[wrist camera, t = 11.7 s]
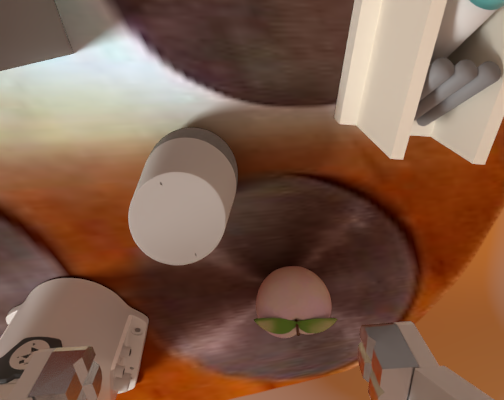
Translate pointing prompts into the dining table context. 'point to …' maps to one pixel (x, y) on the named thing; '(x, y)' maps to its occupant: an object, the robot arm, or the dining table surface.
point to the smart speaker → (184, 197)
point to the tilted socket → (421, 79)
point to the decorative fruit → (293, 303)
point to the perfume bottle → (30, 33)
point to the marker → (461, 23)
